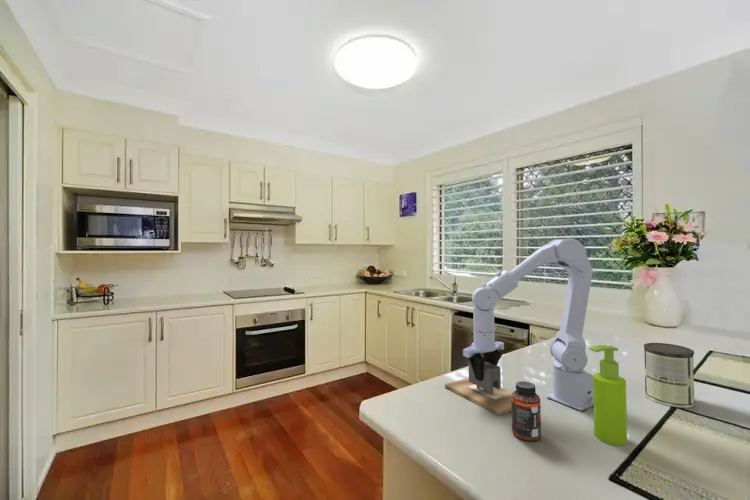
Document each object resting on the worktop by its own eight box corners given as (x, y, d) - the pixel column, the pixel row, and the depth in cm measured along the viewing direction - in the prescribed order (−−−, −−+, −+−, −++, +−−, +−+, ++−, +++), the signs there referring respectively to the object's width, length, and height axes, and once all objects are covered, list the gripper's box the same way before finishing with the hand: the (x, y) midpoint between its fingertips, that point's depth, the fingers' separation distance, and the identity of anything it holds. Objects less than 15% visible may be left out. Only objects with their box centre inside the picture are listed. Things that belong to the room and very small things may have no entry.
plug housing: (500, 388, 93) (500, 366, 93) (490, 391, 91) (490, 369, 91) (478, 378, 100) (478, 358, 100) (468, 381, 98) (468, 361, 98)
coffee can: (638, 389, 98) (637, 341, 98) (682, 394, 94) (681, 344, 94) (654, 405, 88) (653, 351, 88) (704, 410, 85) (703, 355, 85)
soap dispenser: (583, 431, 76) (582, 343, 76) (612, 429, 77) (610, 342, 77) (603, 446, 70) (601, 351, 70) (634, 444, 71) (632, 349, 71)
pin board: (529, 403, 90) (529, 392, 90) (499, 415, 84) (499, 403, 84) (473, 379, 107) (473, 370, 107) (444, 387, 101) (444, 377, 101)
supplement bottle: (544, 443, 72) (543, 390, 72) (514, 441, 73) (514, 388, 73) (536, 429, 77) (536, 380, 77) (509, 426, 79) (508, 378, 79)
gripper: (490, 324, 103) (490, 369, 103) (454, 330, 95) (455, 378, 95) (509, 329, 96) (510, 376, 96) (473, 336, 89) (474, 387, 89)
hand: (484, 378), depth 96 cm, fingers closed on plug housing, 4 cm apart
